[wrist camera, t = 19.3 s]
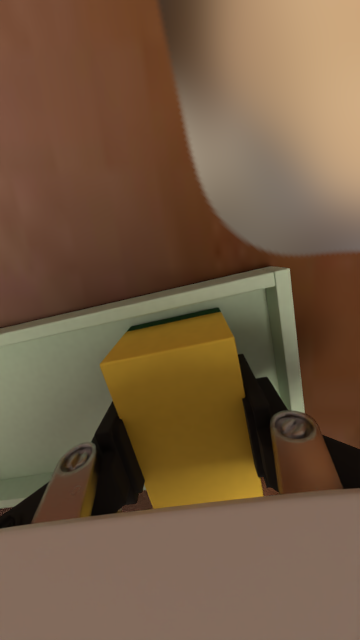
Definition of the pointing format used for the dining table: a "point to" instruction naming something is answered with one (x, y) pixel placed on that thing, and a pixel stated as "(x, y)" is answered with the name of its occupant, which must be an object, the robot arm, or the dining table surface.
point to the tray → (94, 345)
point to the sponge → (184, 409)
